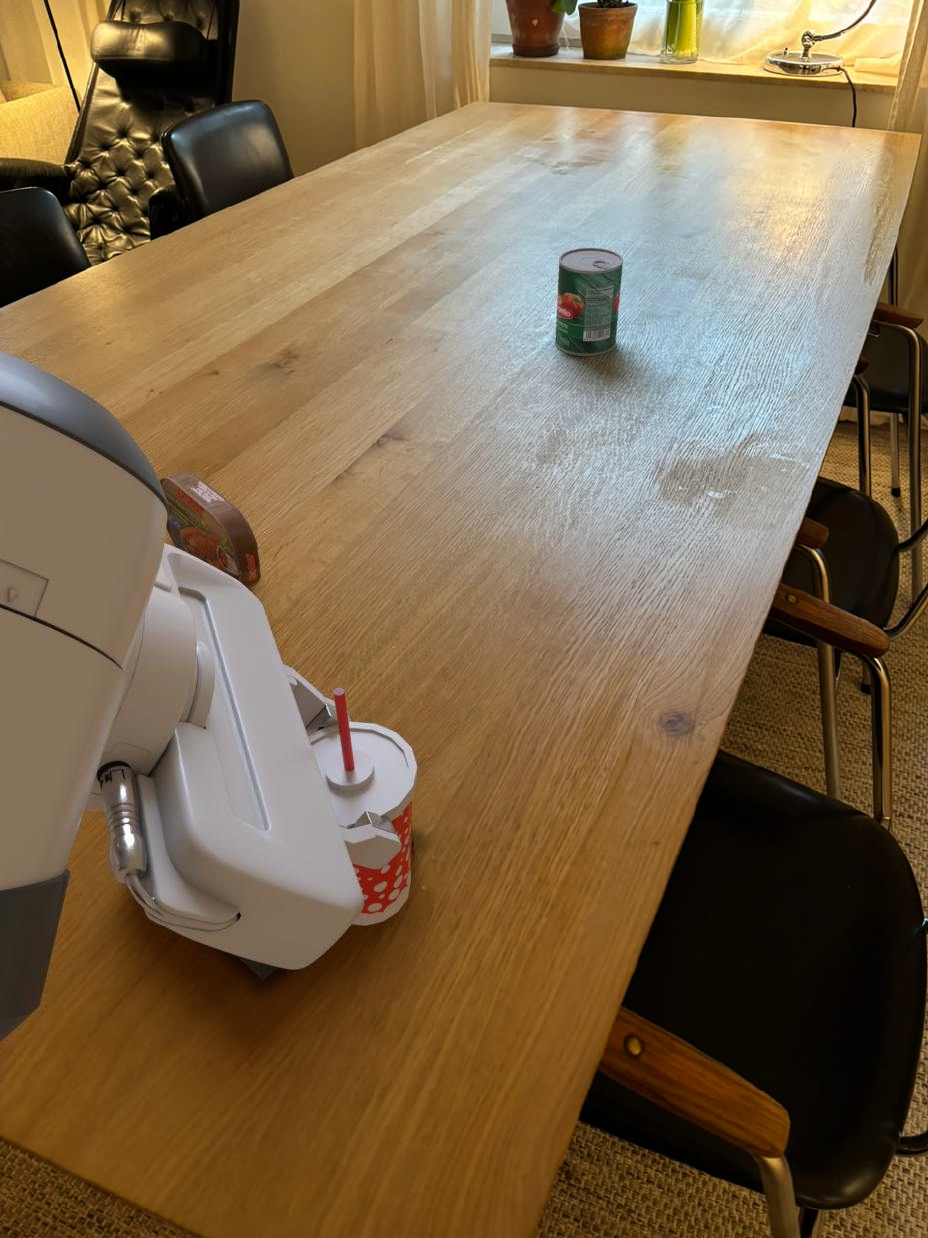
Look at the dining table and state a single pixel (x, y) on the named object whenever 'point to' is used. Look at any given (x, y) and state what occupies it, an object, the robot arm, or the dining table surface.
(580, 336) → the canned tomato
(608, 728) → the dining table surface
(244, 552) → the tin
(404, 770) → the beverage cup
